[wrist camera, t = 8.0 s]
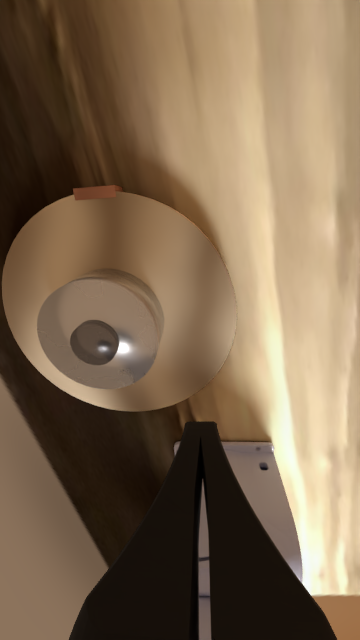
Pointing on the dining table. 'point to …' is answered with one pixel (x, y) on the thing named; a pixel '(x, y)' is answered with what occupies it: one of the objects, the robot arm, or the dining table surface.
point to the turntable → (139, 260)
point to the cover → (102, 328)
